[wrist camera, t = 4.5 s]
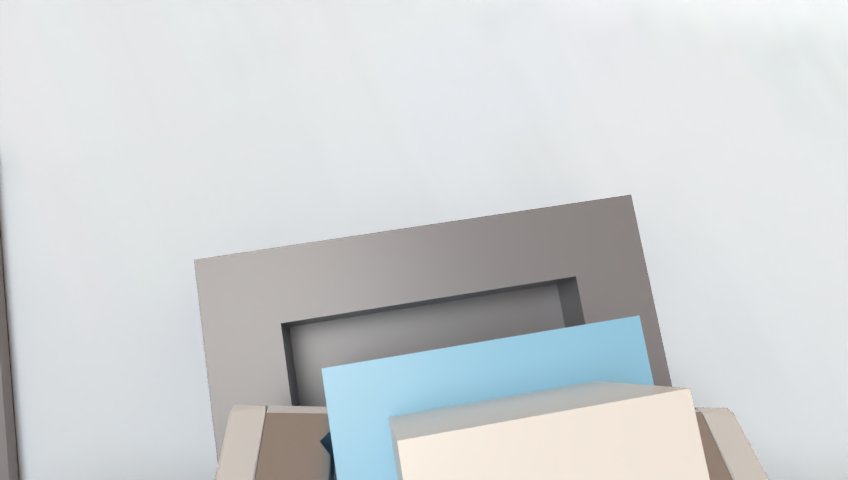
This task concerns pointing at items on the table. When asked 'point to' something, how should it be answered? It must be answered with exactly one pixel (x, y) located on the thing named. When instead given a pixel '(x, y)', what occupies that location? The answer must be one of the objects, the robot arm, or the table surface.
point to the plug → (515, 411)
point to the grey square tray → (415, 297)
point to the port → (6, 397)
